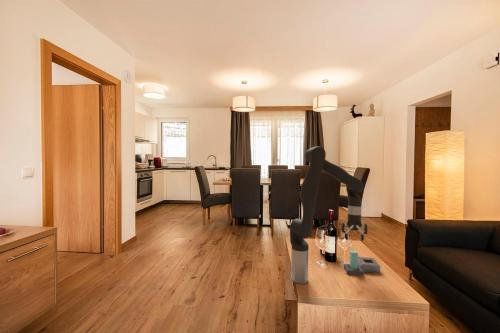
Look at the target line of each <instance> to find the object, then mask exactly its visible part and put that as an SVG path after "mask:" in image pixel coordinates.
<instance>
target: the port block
mask: <svg viewBox="0 0 500 333" xmlns="http://www.w3.org/2000/svg"><path fill="white" fill-rule="evenodd" d="M358 265H360V267H361V268H362V270H363V271H364V273H370V274H381V265H380V263H378V262H377V260H376V259H375V258H374V257H363V256H358Z"/></svg>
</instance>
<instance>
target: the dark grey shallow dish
mask: <svg viewBox="0 0 500 333" xmlns="http://www.w3.org/2000/svg"><path fill="white" fill-rule="evenodd" d="M343 269H344V270H345V273H346V275H351V276H360V277H362V276H364V273H365V272H364V271H363V270H362V268H361V267H360V265H358V270H354V269H350V263H344V264H343Z"/></svg>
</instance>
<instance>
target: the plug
mask: <svg viewBox="0 0 500 333" xmlns="http://www.w3.org/2000/svg"><path fill="white" fill-rule="evenodd" d="M358 254H359V253H358V251H357V250H349V264H350V269H354V270H358V257H359V255H358Z"/></svg>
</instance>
